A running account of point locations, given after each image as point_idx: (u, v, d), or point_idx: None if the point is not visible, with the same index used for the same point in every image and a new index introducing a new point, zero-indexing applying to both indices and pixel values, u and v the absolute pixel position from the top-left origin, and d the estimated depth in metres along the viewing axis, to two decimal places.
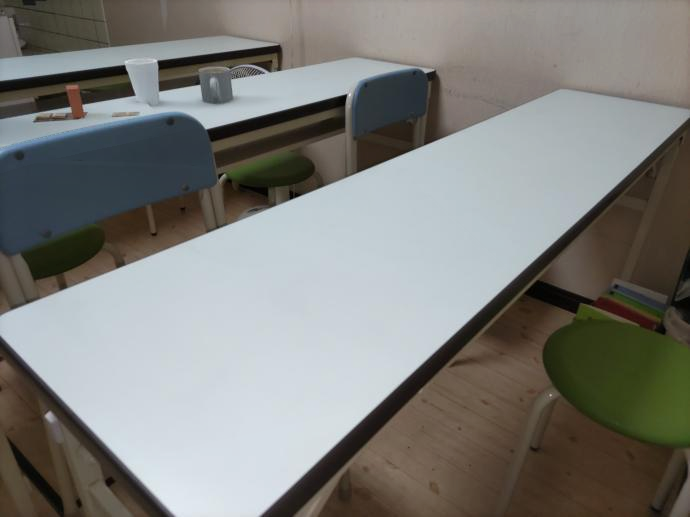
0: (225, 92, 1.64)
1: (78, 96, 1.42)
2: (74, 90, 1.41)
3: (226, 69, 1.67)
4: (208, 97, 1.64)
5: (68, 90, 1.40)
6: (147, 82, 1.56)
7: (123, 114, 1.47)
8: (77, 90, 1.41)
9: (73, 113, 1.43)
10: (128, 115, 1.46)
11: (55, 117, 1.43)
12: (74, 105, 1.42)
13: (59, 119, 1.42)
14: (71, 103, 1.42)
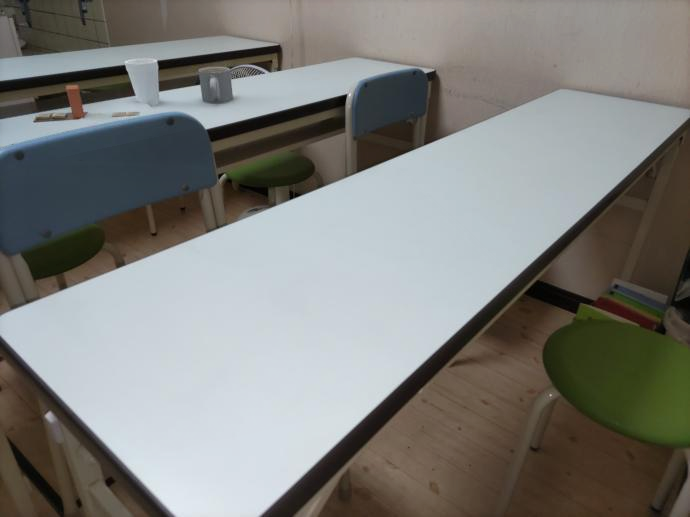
0: (225, 92, 1.64)
1: (78, 96, 1.42)
2: (74, 90, 1.41)
3: (226, 69, 1.67)
4: (208, 97, 1.64)
5: (68, 90, 1.40)
6: (147, 82, 1.56)
7: (123, 114, 1.47)
8: (77, 90, 1.41)
9: (73, 113, 1.43)
10: (128, 115, 1.46)
11: (55, 117, 1.43)
12: (74, 105, 1.42)
13: (59, 119, 1.42)
14: (71, 103, 1.42)
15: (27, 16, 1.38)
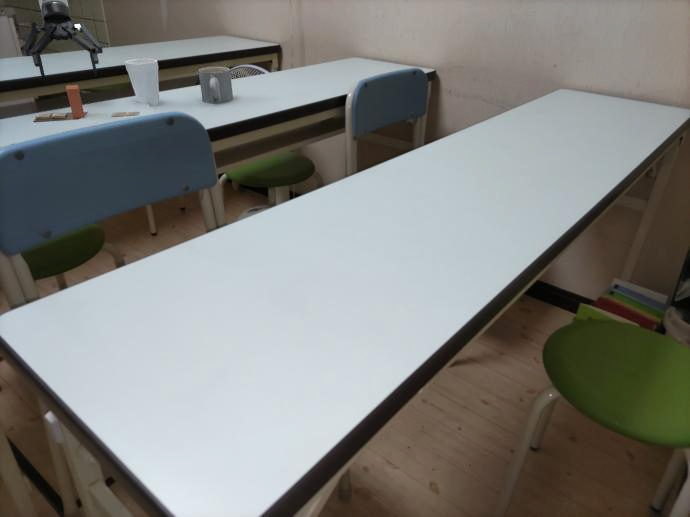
0: (225, 92, 1.64)
1: (78, 96, 1.42)
2: (74, 90, 1.41)
3: (226, 69, 1.67)
4: (208, 97, 1.64)
5: (68, 90, 1.40)
6: (147, 82, 1.56)
7: (123, 114, 1.47)
8: (77, 90, 1.41)
9: (73, 113, 1.43)
10: (128, 115, 1.46)
11: (55, 117, 1.43)
12: (74, 105, 1.42)
13: (59, 119, 1.42)
14: (71, 103, 1.42)
15: (41, 67, 1.42)
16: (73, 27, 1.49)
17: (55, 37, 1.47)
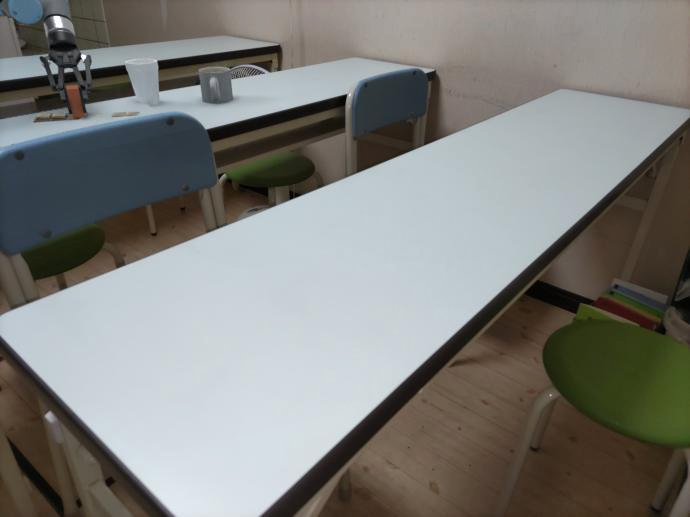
0: (225, 92, 1.64)
1: (78, 96, 1.42)
2: (74, 90, 1.40)
3: (226, 69, 1.67)
4: (208, 97, 1.64)
5: (68, 90, 1.40)
6: (147, 82, 1.56)
7: (123, 114, 1.47)
8: (77, 90, 1.41)
9: (73, 113, 1.43)
10: (128, 115, 1.46)
11: (55, 117, 1.43)
12: (74, 105, 1.42)
13: (59, 119, 1.42)
14: (71, 103, 1.42)
15: (68, 104, 1.40)
16: (79, 55, 1.46)
17: None
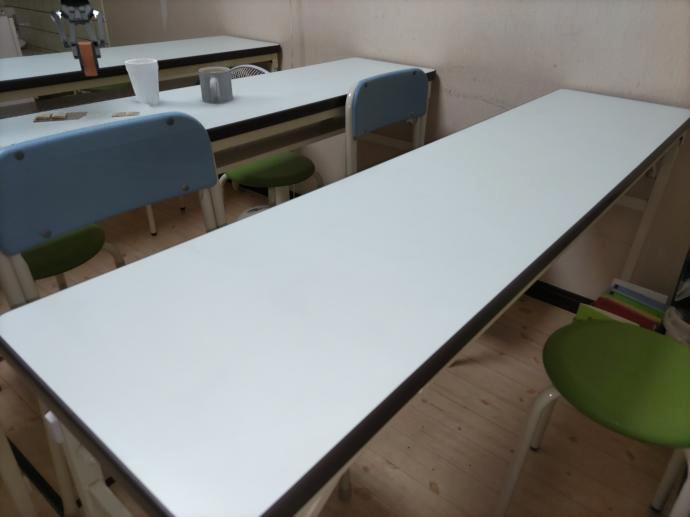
0: (225, 92, 1.64)
1: (91, 52, 1.36)
2: (87, 46, 1.35)
3: (226, 69, 1.67)
4: (208, 97, 1.64)
5: (80, 45, 1.34)
6: (147, 82, 1.56)
7: (123, 114, 1.47)
8: (90, 46, 1.35)
9: (85, 70, 1.37)
10: (128, 115, 1.46)
11: (55, 117, 1.43)
12: (87, 62, 1.37)
13: (59, 119, 1.42)
14: (83, 60, 1.36)
15: (81, 60, 1.35)
16: (92, 11, 1.40)
17: None
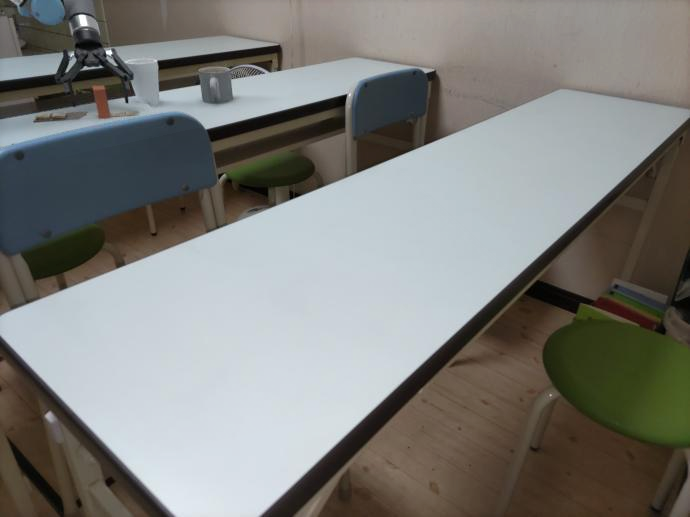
0: (225, 92, 1.64)
1: (105, 97, 1.42)
2: (101, 91, 1.41)
3: (226, 69, 1.67)
4: (208, 97, 1.64)
5: (95, 91, 1.40)
6: (147, 82, 1.56)
7: (123, 114, 1.47)
8: (104, 91, 1.41)
9: (99, 114, 1.43)
10: (128, 115, 1.46)
11: (55, 117, 1.43)
12: (101, 106, 1.42)
13: (59, 119, 1.42)
14: (98, 104, 1.42)
15: (73, 96, 1.39)
16: (104, 54, 1.46)
17: (86, 64, 1.44)
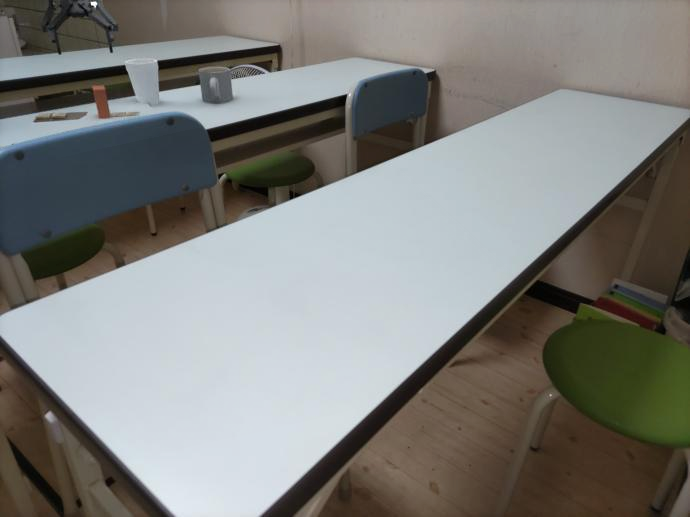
0: (225, 92, 1.64)
1: (105, 97, 1.42)
2: (101, 91, 1.41)
3: (226, 69, 1.67)
4: (208, 97, 1.64)
5: (95, 91, 1.40)
6: (147, 82, 1.56)
7: (123, 114, 1.47)
8: (104, 91, 1.41)
9: (99, 114, 1.43)
10: (128, 115, 1.46)
11: (55, 117, 1.43)
12: (101, 106, 1.42)
13: (59, 119, 1.42)
14: (98, 104, 1.42)
15: (58, 43, 1.42)
16: (89, 4, 1.49)
17: (71, 14, 1.47)
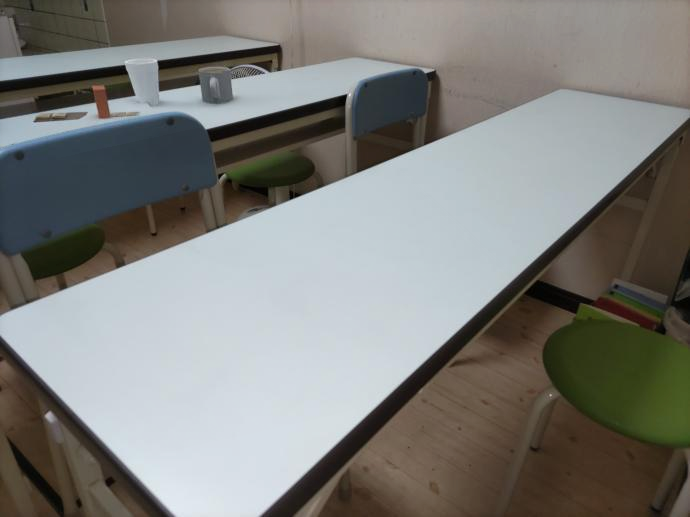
0: (225, 92, 1.64)
1: (105, 97, 1.42)
2: (101, 91, 1.41)
3: (226, 69, 1.67)
4: (208, 97, 1.64)
5: (95, 91, 1.40)
6: (147, 82, 1.56)
7: (123, 114, 1.47)
8: (104, 91, 1.41)
9: (99, 114, 1.43)
10: (128, 115, 1.46)
11: (55, 117, 1.43)
12: (101, 106, 1.42)
13: (59, 119, 1.42)
14: (98, 104, 1.42)
15: None
16: None
17: None
